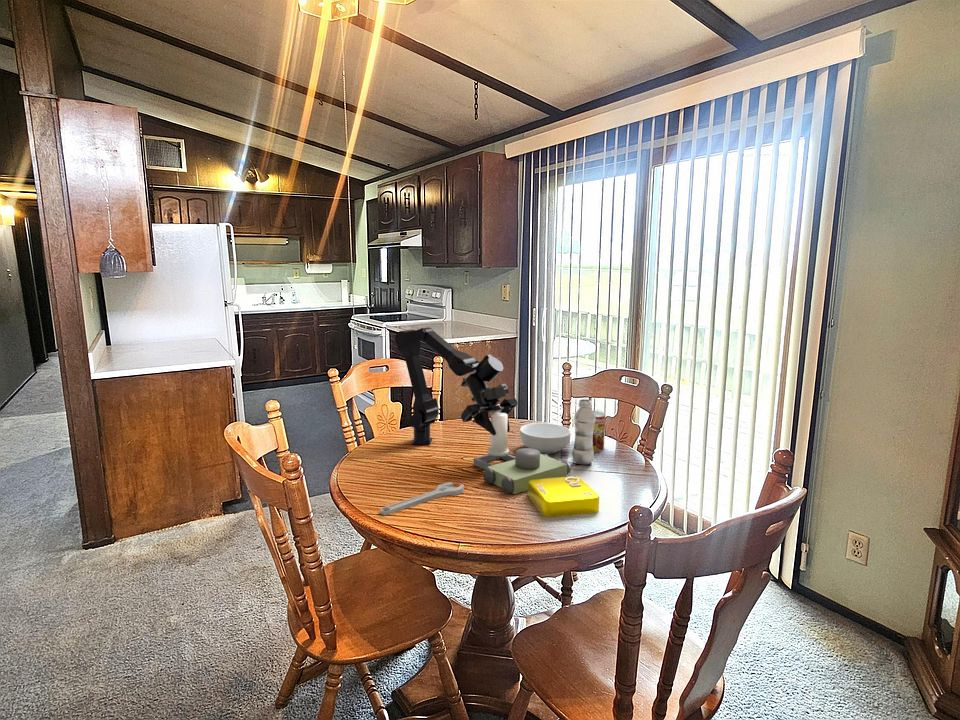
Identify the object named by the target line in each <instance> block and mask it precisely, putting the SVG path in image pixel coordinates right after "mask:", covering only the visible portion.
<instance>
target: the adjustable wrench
mask: <svg viewBox="0 0 960 720" xmlns="http://www.w3.org/2000/svg"><path fill="white" fill-rule="evenodd" d="M464 491H465V485H464V484H463V483H462V484H460V485H459V486H457V487H456V486H455V487H454V482H453V481H449V482H445V483H441V484H437V486H436V488H435V489H434V490H431V491H428V492H426V493H425V492H424V493H423V494H420V495H419V494H418V495H416V496H413V497H411V498H408V499H404V500H401V501H399V502H395V503H393V504H389V505H386V506H383V507H381V508H380V515H381V514H383V515H382V516H387V515H386V514H389V515H391V514H390V513H392V514H394V513H393V512H395V513H397V512H396V511H398V512H400V511H399V510H401V511H403V510H402V509H404V510H406V509H409V508H412V507H415V506H418V505H421V504H423V503H427V502H429V501H431V500H434V499H438V498H441V497H448V496H457V495H460V494H462V493H464ZM420 503H421V504H420ZM417 504H418V505H417ZM414 505H415V506H414ZM411 506H412V507H411ZM408 507H409V508H408ZM405 508H406V509H405Z"/></svg>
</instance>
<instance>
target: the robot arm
mask: <svg viewBox="0 0 960 720" xmlns="http://www.w3.org/2000/svg"><path fill="white" fill-rule="evenodd" d="M394 342H395V345H396V347H397V350H398V351H399V353H400V354H401V355H402V356H403V358H404V360H405V363H406V367H407V373H408V376H409V379H410V380H409V381H410V386H411V389H412V392H413V397H414V400H413V404H412V411H413V412H412V413H413V414H412V415H411V416H410V417H409V418H408V419H407V424H408V427H410V428H413V439H412V441H411V442H410V443H411V445H427V446H428V445H429V446H430V445H431V444H432V441H433V439H434V438H433V437H431V425H432V424H435V422H436V419H437V418H438V416H439V413H440V412H439V411H440V408H439V404H438V399H437V398H436V397H434V398H433V397H432V396H431V395H430V393H429V389H428V386H427V385H428V384H427V381H426V378H425V377H426V376H425V373H424V370H423V365H422V361H421V357H420V350H421V347H422V343H421V342H424V343H425V344H426V345H428V346H429V347H430V348H431V349H432V350H433V351H434V352H435V353H437V354H438V355H440V357H441V358H442V359H444V360H445V362H447V366H448V368H449V369H450V370H451V372H453V374H454V375H455V376H457V377H461V376H463V378H462V382H461V385H460V386H461V387H462V388H463V387H464V388H465V387H466V388H468V389H469V391H470V393H471V395H472V398H471V401H472V402H473V403H474V402H475V403H474V404H468V405H467V406H466V407H464V409H463V410H462V411H461V413H460V418H461V420H462V423H469V422H471V421H472V423H473V424H476V425H478V426H480V427H482V428H483V429H484V430H486V431H487V432H488V433H490V435H491V434H492V435H495V434H496V432H495V429H494V427H493V425H492V423H491V418H490V417H489V413H494V412H495V413H506V414H507V415H508V416H509V414H511V413H512V412H513V411H514V409H515V408H516V407H517V406H518V405H519V403H518V400H517V399H516V398H515V397H508V398H505V397H507V394H509V392H510V390H509V387H508V386H507V384H506V383H500V384H499V385H497V386H494V387H492V386H489V385H488V382H489V383H490V382H492V381H493V380H494V379H495V378H496V377H497V376H498V375H500V374H501V373H502V372H503V370H504V365H503V363H502V361H501V360H499V359H498V358H496V357H494V356H492V354H489V353H488V354H486V355H485V356H484V357H483V359H482V360H481V361H480V360H477V359H476V358H474V356H472V355H470V354H468V353H466V352H464V351H463V352H462V351H460V350H457V348H455V347H454V346H453V345H451V343H450V342H448V341H446V340H445V339H444V338H443V337H442V336H441V335H440V334H438V333H437V332H436V331H434V329H433V328H432V327H430V326H428V327H421V328H418V329H405V330H400V331H397V333H396V335H395V336H394ZM466 375H467V377H464V376H466ZM501 398H504V399H503V400H502V401H501ZM500 401H501V402H500ZM499 402H500V403H499ZM509 421H510V420H509V419H508V422H507V433H509V432H510V431H511V428H510V422H509Z"/></svg>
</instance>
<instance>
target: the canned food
mask: <svg viewBox="0 0 960 720" xmlns="http://www.w3.org/2000/svg"><path fill="white" fill-rule="evenodd" d="M592 411H593V412H594V414H595V417H596V419H595V425H594V430H593V451H594V453H598V451H599V452H602V451H604V450H605V449H604V448H605V432H606V431H605V429H606V413H605V412H603V411H599V410H592Z"/></svg>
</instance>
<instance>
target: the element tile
mask: <svg viewBox="0 0 960 720" xmlns="http://www.w3.org/2000/svg"><path fill="white" fill-rule="evenodd" d="M527 497H528V498H529V500H531V502H532V503H533V505H534V506H535V507H536V509H537V510H538V511H539V513H540V514H541V515H542V516H544V517H546V518H556V517H557V518H559V517H567V516H577V515H586V514H587V515H588V514H595V513H598V512H599V511H600V495H599V493H597V492H596V491H595V490H594V489H593V487H591V486H590V485H589V484H588V483H586V482H585V480H583V479H582V478H581V477H580V476H576V475H573V476H572V475H571V476H567V477H558V478H545V479H533V480H530V481H529V482H528V490H527Z"/></svg>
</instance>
